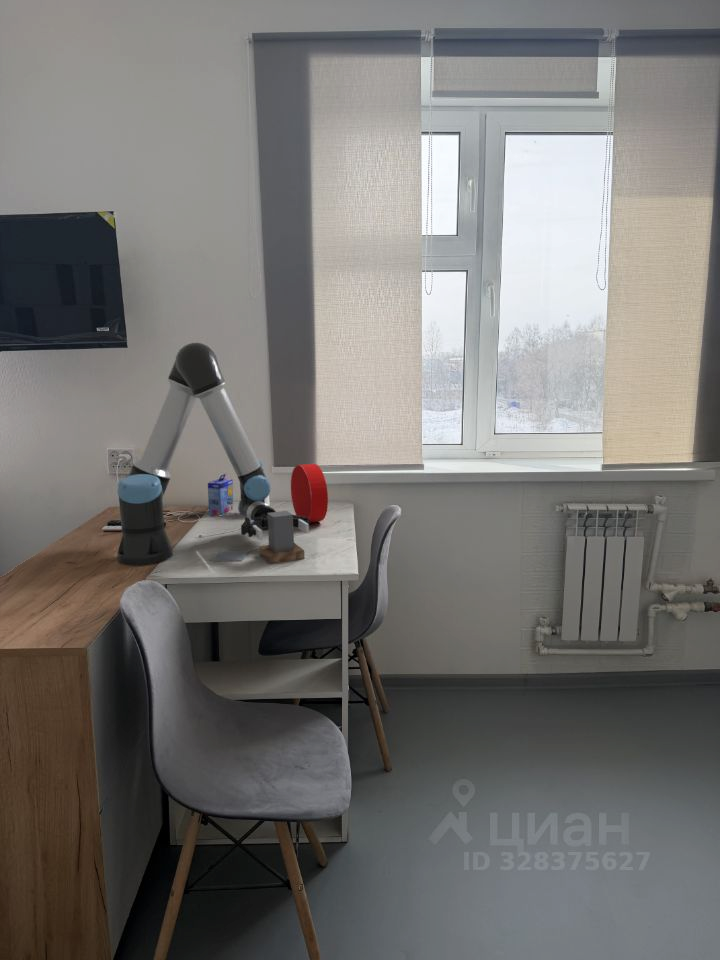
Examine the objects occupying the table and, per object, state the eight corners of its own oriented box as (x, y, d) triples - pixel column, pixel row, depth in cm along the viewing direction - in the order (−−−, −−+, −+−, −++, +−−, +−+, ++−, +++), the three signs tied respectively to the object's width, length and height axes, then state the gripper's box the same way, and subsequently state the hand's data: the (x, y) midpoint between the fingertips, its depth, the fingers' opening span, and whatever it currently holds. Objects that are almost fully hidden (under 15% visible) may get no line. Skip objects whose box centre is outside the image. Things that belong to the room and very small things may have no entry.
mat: (210, 562, 186) (209, 560, 186) (219, 553, 195) (219, 550, 195) (241, 563, 185) (241, 560, 185) (249, 553, 194) (249, 550, 194)
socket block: (270, 565, 182) (269, 555, 181) (259, 556, 191) (259, 546, 190) (304, 560, 186) (304, 550, 185) (292, 551, 195) (292, 541, 194)
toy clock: (328, 527, 222) (327, 467, 218) (312, 529, 219) (310, 469, 216) (307, 514, 240) (305, 459, 236) (291, 516, 237) (289, 461, 233)
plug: (275, 560, 185) (273, 517, 182) (269, 555, 190) (267, 512, 187) (294, 557, 187) (292, 514, 185) (288, 552, 192) (286, 510, 190)
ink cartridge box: (222, 516, 240) (219, 477, 237) (208, 515, 242) (205, 476, 239) (234, 510, 249) (232, 472, 247) (221, 509, 251) (219, 471, 248)
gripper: (301, 522, 209) (326, 539, 190) (222, 533, 199) (241, 551, 180) (300, 499, 207) (325, 513, 188) (220, 508, 197) (239, 524, 178)
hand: (284, 532), depth 184 cm, fingers open, 13 cm apart
